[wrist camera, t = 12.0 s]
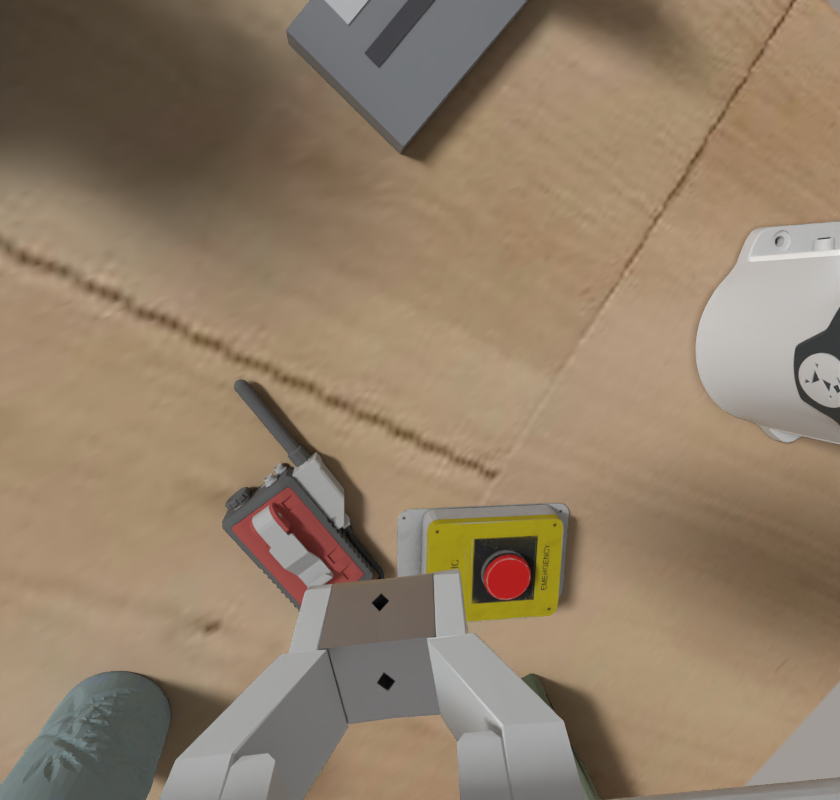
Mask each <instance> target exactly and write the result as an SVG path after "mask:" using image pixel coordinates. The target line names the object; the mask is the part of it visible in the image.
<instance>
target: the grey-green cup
mask: <svg viewBox="0 0 840 800" xmlns="http://www.w3.org/2000/svg"><path fill="white" fill-rule="evenodd" d="M170 721H171V711H170V707H169V703H168V700H167V698H166V697H165V694H164V693H163V692H162V690H161V689H160V687H159V686H158V685H156V684H155V683H154V682H153V681H151V680H149V679H148V678H146V677H143V676H141V675H138V674H136V673H131V672H124V671H111V672H105V673H100V674H97V675H94V676H92V677H90V678H87V679H86V680H84V681H82V682H81V683H79V684H78V685H77V686H76V687H74V688H73V689H72V690H71V691H70V692H69V693H68V694H67V695H66V697H65V698H64V699H63V701H62V702H61V703H60V704H59V706H58V707H57V708H56V710H55V711H54V712H53V714H52V715H51V717H50V718H49V720H48V721H47V723H46V724H45V726H44V727H43V729H42V730H41V732H40V734H39V736H38V737H37V738H36V739H35V740H34V741H33V742H32V743H31V744H30V745H29V746H28V747H27V748H26V750H25V752H24V754H23V756H22V757H21V758H20V760H19V761H18V762H17V764H16V765H15V766H14V768H13V769H12V771H11V772H10V773H9V775H8V776H7V778H6V779H5V780H4V781H3V782H2V783H1V784H0V800H146V798H147V796H148V793H149V792H150V789H151V786H152V783H153V777H154V775H155V772H156V769H157V766H158V761H159V759H160V757H161V753H162V750H163V747H164V743H165V740H166V736H167V733H168V730H169V726H170Z"/></svg>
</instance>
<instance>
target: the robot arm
mask: <svg viewBox="0 0 840 800" xmlns="http://www.w3.org/2000/svg"><path fill="white" fill-rule="evenodd" d="M776 238H777V244H776V245H775V239H776ZM696 362H697V368H698V372H699V376H700V378H701V381H702V383H703V386H704V388H705V389H706V391H707V393H708V394H709V396H710V397H711V398H712V400H713V401H714V402H715V403H716V404H717V405H718V406H719V407H720V408H722V409H723V410H724V411H726V412H728V413H729V414H731V415H733V416H736V417H738V418H741V419H744V420H748V421H751V422H753V423H755V424H757V425H758V426H759V427H760V428H761V429H762V430H763V431H764V432H765V433H766V434H767V435H768V436H769V437H771V438H772V439H774V440H776V441H781V442H786V443H788V442H792V441H794V440H796V439H798V438H800V437H802V436H804V437H808V438H813V439H817V440H822V441H827V442H831V443H836V444H840V221H833V222H820V223H807V224H795V225H782V226H769V227H760V228H757V229H755V230H753V231H752V232H751V233H750V234H749V236H748V237H747V239H746V241H745V243H744V246H743V248H742V250H741V253H740V255H739V258H738V261H737V264H736V265H735V267H734V268H733V269H732V271H731V272H730V273H729V274H728V276H727V277H726V278H725V279H724V280H723V281H722V282H721V284H720V285H719V286H718V287H717V289H716V290H715V292H714V293H713V295H712V296H711V298H710V300H709V301H708V303H707V305H706V307H705V310H704V312H703V314H702V317H701V320H700V324H699V327H698V332H697V338H696ZM427 715H441V718H442V719H443V721H444V722H445V724H446V725H447V727H448V728H449V730H450V731H451V733H452V734H453V736H454V737H455V739H456V740H457V752H458V770H459V787H460V800H585V797H584V793H583V789H582V786H581V782H580V778H579V775H578V771H577V767H576V764H575V760H574V757H573V753H572V749H571V746H570V742H569V738H568V735H567V731H566V727H565V724H564V721H563V720H562V719H561V718H560V717H559V716H558V715H557V714H556V713H555V712H554V711H553V710H552V709H551V708H550V707H549V706H548V705H547V704H546V703H545V702H544V701H543V700H542V699H541V698H540V697H539V696H538V695H537V694H536V693H535V692H534V691H533V690H532V689H531V688H530V687H529V686H528V685H527V684H526V683H525V682H524V681H523V680H522V679H521V678H520V677H519V676H518V675H517V674H516V673H515V672H514V671H513V670H512V669H511V668H510V667H509V666H508V665H507V664H506V663H505V662H504V661H503V660H502V659H501V658H500V657H499V656H498V655H497V654H496V653H495V652H494V651H493V650H492V649H491V648H490V647H489V646H488V645H487V644H486V643H485V642H484V641H483V640H482V639H481V638H480V637H479V636H478V635H477V634H476V633H470V634H469V633H468V625H467V618H466V611H465V603H464V596H463V589H462V582H461V574H460V570H459V569H452V570H445V571H438V572H434V573H427V574H419V575H411V576H403V577H395V578H387V579H376V580H365V581H354V582H344V583H334V584H327V585H316V586H309V587H308V589H307V590H306V591H305V593H304V597H303V601H302V605H301V608H300V612H299V616H298V619H297V623H296V627H295V630H294V634H293V638H292V641H291V645H290V649H289V652H288V654H282V655H280V656H279V657H278V658H277V659H276V660H275V661H274V662H273V663H272V664H271V665H270V666H269V667H268V668H267V669H266V670H265V671H264V672H263V673H262V674H261V675H260V676H259V677H258V678H257V679H256V680H255V681H254V682H253V683H252V684H251V685H250V686H249V687H248V688H247V689H246V690H245V691H244V692H243V693H242V694H241V695H240V696H239V697H238V698H237V699H236V700H235V701H234V702H233V703H232V704H231V705H230V706H229V707H228V708H227V709H226V710H225V711H224V712H223V713H222V714H221V715H220V716H219V717H218V718H217V719H216V720H215V721H214V722H213V723H212V724H211V725H210V726H209V727H208V728H207V729H206V730H205V731H204V732H203V733H202V734H201V735H200V736H199V737H198V738H197V739H196V740H195V741H194V742H193V743H192V744H191V745H190V746H189V747H188V748H187V749H186V750H185V751H184V752H183V753H182V754H181V755H180V756H179V757H178V758H177V759H176V760H175V763H174V765H173V767H172V770H171V772H170V775H169V777H168V779H167V782H166V784H165V787H164V789H163V791H162V794H161V796H160V799H159V800H303V798H304V797H305V795H306V794H307V792H308V790H309V789H310V787H311V786H312V784H313V782H314V781H315V779H316V778H317V776H318V774H319V773H320V771H321V770H322V768H323V767H324V765H325V763H326V762H327V760H328V759H329V757H330V755H331V754H332V752H333V751H334V749H335V747H336V746H337V744H338V743H339V741H340V739H341V738H342V736H343V735H344V733H345V731H346V730H347V728H348V725H347V724H353V723H360V722H368V721H375V720H383V719H390V718H401V717H414V716H427ZM607 800H840V777H839V778H828V779H817V780H807V781H796V782H786V783H775V784H766V785H754V786H744V787H733V788H723V789H712V790H702V791H691V792H681V793H670V794H660V795H649V796H639V797H628V798H618V799H607Z"/></svg>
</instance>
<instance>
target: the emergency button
mask: <svg viewBox="0 0 840 800" xmlns="http://www.w3.org/2000/svg"><path fill="white" fill-rule="evenodd" d="M568 520H569V511H568V508H567V507H566V506H565V505H564V504H561V503H538V504H514V505H491V506H468V507H444V508H421V509H409V510H405V511H403V512H402V513H401V514H400V515H399V517H398V520H397V577H403V576H411V575H419V574H427V573H434V572H438V571H445V570H452V569H459V570H460V574H461V582H462V589H463V596H464V603H465V611H466V618H467V622H476V621H489V620H503V619H516V618H529V617H542V616H549V615H552V614H553V613H554V612H555V611H556V609H557V606H558V597H559V596H560V595H561V594H562V591H563V583H564V570H565V558H566V545H567V533H568Z"/></svg>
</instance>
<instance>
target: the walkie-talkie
mask: <svg viewBox="0 0 840 800" xmlns="http://www.w3.org/2000/svg"><path fill="white" fill-rule="evenodd" d="M234 389H235V391H236V392H237V393H238V394H239V395H240V397H241V398H242V399H243V400H244V401H245V403H246V404H247V405H248V406H249V407H250V409H251V410H252V411H253V412H254V413H255V415H256V416H257V417H258V418H259V419H260V421H261V422H262V423H263V424H264V425H265V427H266V428H267V429H268V430H269V431H270V433H271V434H272V435H273V436H274V437H275V439H276V440H277V441H278V442H279V443H280V444H281V446H282V447H283V448H284V449H285V450H286V452H287V453H288V457H289V458H290V460H291V461H292V462H293V463H294V464H295V467H294V468H293V467H289V466H288V467H287V466H284V465H283V464H282V463H280V464H278V465H277V466H276V467H275V468H274V471H275V473H276V475H275V476H274V475H273V474H270V475H268V476H267V477H266V478H265V479H264V482H265V483H264V484H263V485H261V486H260V487H259V488H257V489H256V490H255V491H253V492H252V493H250V492H251V490H250V489H249V488H248V487H245V488H242V489H240V490H239V491H238V492H236V493H235V494H234V495H233V496H232V497H231V498H230V499H228V501H227V502H226V505H225V506H226V507H227V508H228V509H229V510H228V511H227V513H226V515H225V517H224V519H223V521H222V526H223V529H224V530H225V531H226V532H227V533H228V535H229V536H230V537H231V538H232V539H233V540H234V541H235V542H236V543H237V544H238V545H239V547H240V548H241V549H242V550H243V551H244V552H245V553H246V554H247V555H248V556H249V557H250V559H251V560H252V561H253V562H254V563H255V564H256V565H257V566H258V567H259V568H260V569H262V570H263V573H264V574H267V575H268V578H269V579H271V580H272V582H273V583H275V584H276V585H277V588H279V589H280V590H281V592H282V593H284V594H285V595H286V598H289V599H290V602H291V603H293V604H294V606H295V607H297V608H298V609H299V612H300V608H301V605H302V601H303V597H304V593H305V591H306V590H307V589H308V587H309V586H316V585H327V584H334V583H344V582H354V581H365V580H372V575H373V571H372V567H373V568H374V569H375V570H376V571H377V573H378V574H379V578H378V579H384V573H383V570H382V568H381V567H380V566H379V565H378V564H377V562H376V561H375V560H374V559H373V558H372V556H371V555H370V554H369V553H368V552H367V550H366V549H365V548H364V547H363V546H362V544H361V543H360V542H359V541H358V539H357V538H356V537H355V536H354V534H353V532H352V527H351V525H350V518H349V517H348V515H347V514H346V513H345V512H344V488H343V487H342V485H341V484H340V483H339V482H338V480H337V479H336V478H335V477H334V476H333V474H332V473H331V472H330V471H329V469H328V468H327V467H326V466H325V464H324V463H323V462H322V458H321V457H320V455H319V454H318V453H317V452H315V453H313V454H312V455H311V456H310V455H309V454H308V453H307V452H306V450H305V449H304V448H303V447H302V446H301V445H298V443H297V442H296V441H295V440H294V439H293V437H292V436H291V435H290V434H289V433H288V431H287V430H286V429H285V428H284V427H283V425H282V424H281V423H280V422H279V420H278V419H277V418H276V417H275V416H274V414H273V413H272V412H271V411H270V410H269V408H268V407H267V406H266V405H265V404H264V402H263V401H262V400H261V399H260V398H259V396H258V395H257V394H256V393H255V391H254V390H253V389H252V388H251V387H250V385H249V384H248V383H247V382H246V381H245V380H238V381H236V383H235V384H234ZM345 528H346V529H347V531H345Z"/></svg>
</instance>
